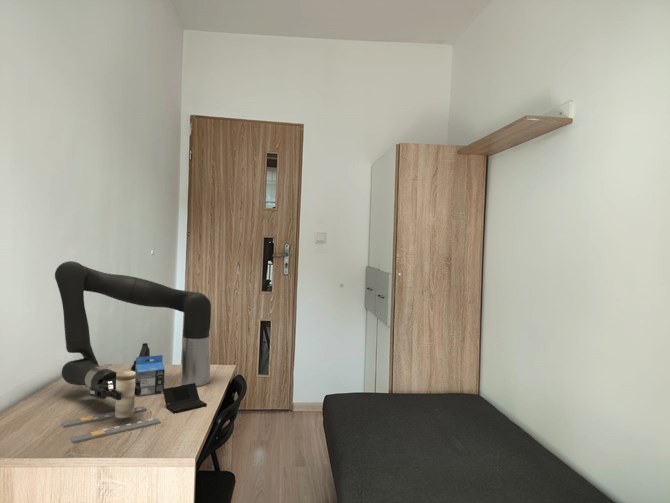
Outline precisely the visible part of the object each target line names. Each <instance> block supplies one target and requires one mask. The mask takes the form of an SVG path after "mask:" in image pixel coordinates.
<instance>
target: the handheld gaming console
mask: <svg viewBox="0 0 670 503" xmlns="http://www.w3.org/2000/svg"><path fill="white" fill-rule="evenodd" d="M162 394H163V397H164V402H165V405H166V407H165V409H166V410H168V411H170V412H171V413H172V414H174V415H175V413H176V414H179V413H184V412H188V411H193V410H197V409H201V408H206V407H207V405H208V404H207V402H205V401H203V400H201V399H200V395H199V392H198V388H197V386H196V384H195V383H192V384H187V385H182V384H181V385H178V386H171V387H167V388H164V389H163V393H162Z"/></svg>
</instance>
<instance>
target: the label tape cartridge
mask: <svg viewBox="0 0 670 503" xmlns="http://www.w3.org/2000/svg"><path fill="white" fill-rule="evenodd" d="M163 358H164V357H163V354H161V355H159V354H158V355H150V356H146V357H139V356H136V357H135V360H136V366H135V372H136V378H137V379H138V380H139V381H140V382H141V384H140V388H141V394H140V395H139V396H137V395H135V397H141V396H142V397H143V396H149V395H155V394H163V389H165V373H166V372H165V366H164V362H163ZM148 359H150V361H147V362H145V360H148Z"/></svg>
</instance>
